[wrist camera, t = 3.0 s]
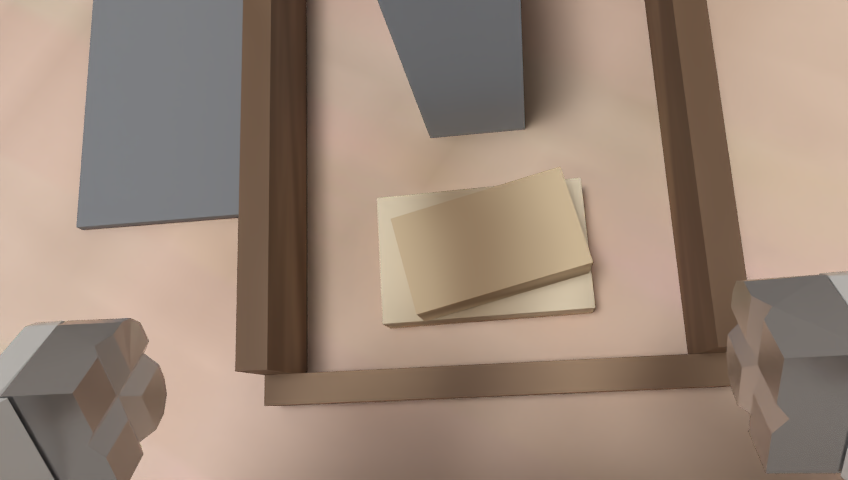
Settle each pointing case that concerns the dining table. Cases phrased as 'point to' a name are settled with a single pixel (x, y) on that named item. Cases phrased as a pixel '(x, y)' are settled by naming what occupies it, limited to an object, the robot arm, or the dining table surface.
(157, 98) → the mat
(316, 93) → the dining table surface
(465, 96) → the board
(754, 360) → the robot arm
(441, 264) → the offcut upper
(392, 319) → the offcut lower
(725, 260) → the frame
